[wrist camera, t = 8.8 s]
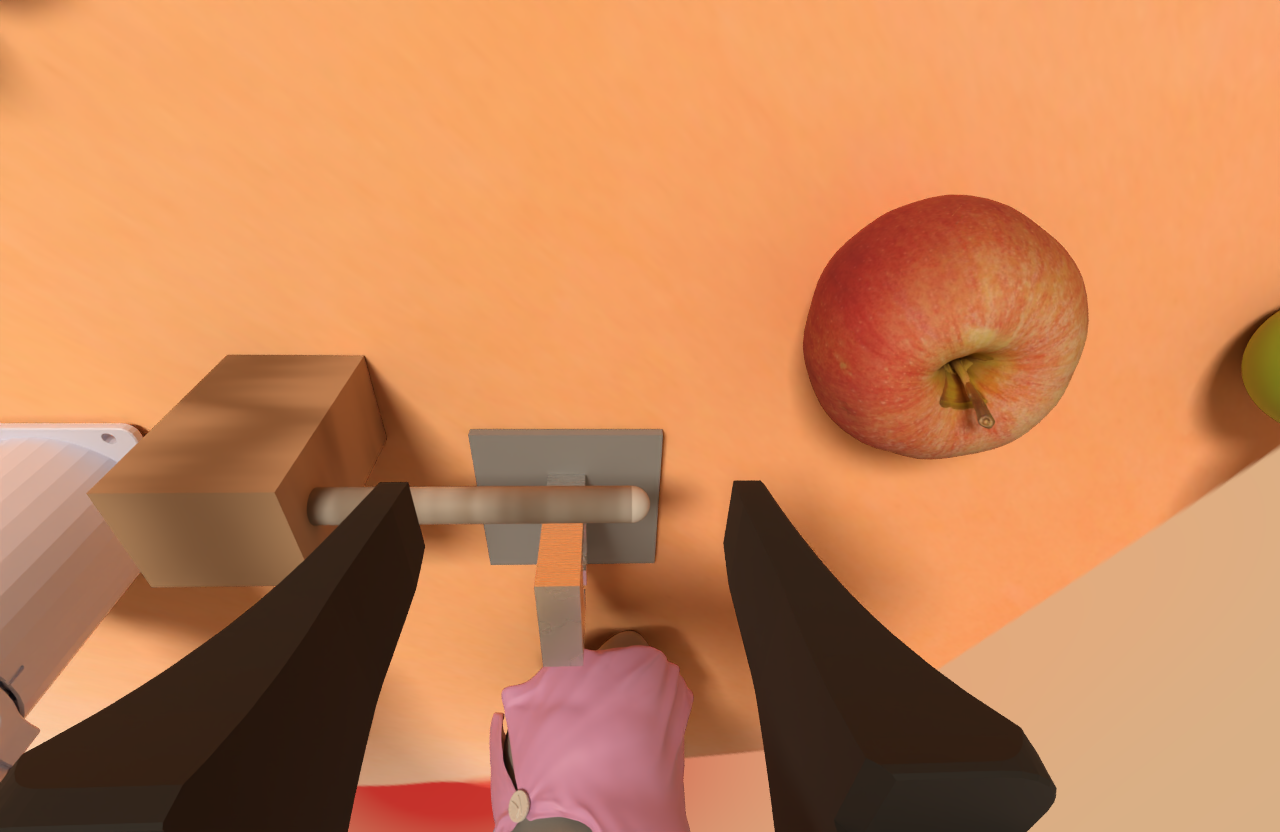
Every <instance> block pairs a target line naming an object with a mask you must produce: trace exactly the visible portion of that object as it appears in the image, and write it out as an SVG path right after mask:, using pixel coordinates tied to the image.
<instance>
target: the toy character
mask: <svg viewBox="0 0 1280 832" xmlns="http://www.w3.org/2000/svg"><path fill="white" fill-rule="evenodd" d="M679 672H680V668H679V666H678V665H676V664H674V663H671V662H669V661H667V657H666V656H665V654H664V653H663V652H662V651H660V650H658V649H656V648H653V647H650V646H649V645H648V644H647V642H646V640H645V639H644V638H643V637H642V636H641V635H640V634H638V633H637V632H634V631H624V632H621V633H618V634H616V635H615V636H613V637H611V638H610V639H609V640H607V641H606V642H605V643H604V644H603V645H602V646H601V647H600V648H599V649H598V650H589V649H584V661H583V666H560V667H543V668H542V669H541V670H540V671H539V672H538V673H537V674H536V675H535V676H534V677H533V678H531V679H530V680H529V681H527V682H525V683H523V684H519V685H514V686H509V687H506V688H504V689H503V691H502V701H503V705H504V709H505V717H506V721H507V725H508V731H507V734H506V735H505V733H504V730H503V719H504V713H494V715H493V718H492V722H491V727H490V764H491V801H492V809H493V816H494V821H495V829H494V831H493V832H690V828H689V824H688V821H687V818H686V812H685V798H684V785H683V774H684V734H685V730H686V726H687V722H688V718H689V715H690V712H691V708H692V704H693V699H694V697H693V693H692V691H691V690H690V689H689V688H688V687H687V685H686V683H685V681H684V679H683V677H682V676H681V675H680V674H679Z"/></svg>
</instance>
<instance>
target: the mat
mask: <svg viewBox="0 0 1280 832" xmlns="http://www.w3.org/2000/svg"><path fill="white" fill-rule="evenodd" d="M468 436H469V442H470V448H471V454H472V459H473V465H474V471H475V477H476V482H477V486H547V480H548V474H551V473H585V477H586V486H637V487H639V488H641V489H643V490H644V491H645V492H646V493H647V495H648V497H649V500H650V508H649V511H648V513H647V515H646V516H645V517H644V518H643V519H642V520H640V521H638V522H635V523H587V542H588V559H587V564H616V563H654V561H655V546H656V531H657V516H658V501H659V486H660V471H661V456H662V441H663V432H662V429H470V431H469V435H468ZM541 528H542V524H484V529H485V534H486V540H487V546H488V552H489V557H490V563H491V565H529V564H537V560H538V552H539V544H540V536H541Z"/></svg>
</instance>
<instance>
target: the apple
mask: <svg viewBox="0 0 1280 832" xmlns="http://www.w3.org/2000/svg"><path fill="white" fill-rule="evenodd" d="M1087 331H1088V303H1087V295H1086V290H1085V285H1084V282H1083V278H1082V276H1081V274H1080V271H1079V269H1078V267H1077V266H1076V264H1075V262H1074V261H1073V259H1072V258H1071V256H1070V255H1069V254H1068V252H1067V251H1066V249H1065V248H1064V247H1063V246H1062V245H1061V244H1060V243H1059V242H1058V241H1057V240H1056V239H1054V238H1053V237H1052V236H1051V235H1050V234H1048V233H1047V232H1046V231H1045V230H1044V229H1042V228H1041V227H1040V226H1038V225H1037V224H1036V223H1035V222H1033V221H1032V220H1031V219H1029V218H1028V217H1026V216H1025V215H1024V214H1022V213H1020V212H1019V211H1017V210H1015V209H1013V208H1012V207H1010V206H1007V205H1005V204H1002V203H999V202H996V201H993V200H990V199H986V198H981V197H975V196H968V195H944V196H938V197H932V198H927V199H924V200H921V201H917V202H914V203H911V204H908V205H905V206H902V207H900V208H897V209H894V210H892V211H890V212H888V213H886V214H884V215H882V216H880V217H879V218H877V219H876V220H874V221H873V222H872V223H870V224H869V225H867V226H866V227H865V228H863V229H862V230H861V231H859V232H858V233H857V234H856V235H854V236H853V237H852V238H851V239H850V240H849V241H847V242H846V243H845V244H844V245H843V246H842V247H841V248H840V249H839V250H838V251H837V252H836V254H835V255H834V256H833V257H832V258H831V260H830V261H829V263H828V264H827V266H826V267H825V269H824V271H823V273H822V275H821V277H820V279H819V281H818V283H817V286H816V289H815V292H814V296H813V299H812V303H811V307H810V310H809V314H808V318H807V322H806V326H805V330H804V341H803V351H804V360H805V364H806V367H807V371H808V375H809V378H810V381H811V384H812V387H813V389H814V391H815V394H816V396H817V398H818V400H819V402H820V404H821V406H822V407H823V409H824V410H825V412H826V413H827V414H828V415H829V416H830V418H831V419H832V420H833V421H834V422H835V423H836V424H837V425H838V426H839V427H841V428H842V429H843V430H844V431H845V432H847V433H848V434H850V435H851V436H853V437H854V438H856V439H857V440H859V441H861V442H862V443H865V444H867V445H870V446H872V447H874V448H878V449H882V450H886V451H890V452H893V453H896V454H900V455H903V456H907V457H912V458H917V459H942V458H950V457H957V456H962V455H968V454H974V453H979V452H983V451H987V450H991V449H995V448H998V447H1000V446H1003V445H1006V444H1008V443H1010V442H1012V441H1014V440H1016V439H1018V438H1019V437H1021V436H1022V435H1024V434H1025V433H1027V432H1028V431H1029V430H1031V429H1032V428H1033V427H1034V426H1036V425H1037V424H1038V423H1039V422H1040V421H1041V420H1042V419H1043V418H1044V417H1045V416H1046V415H1047V414H1048V413H1049V412H1050V411H1051V410H1052V409H1053V408H1054V407H1055V406H1056V405H1057V403H1058V402H1059V400H1060V399H1061V397H1062V396H1063V394H1064V392H1065V390H1066V388H1067V386H1068V384H1069V382H1070V380H1071V378H1072V375H1073V373H1074V371H1075V369H1076V366H1077V364H1078V362H1079V360H1080V357H1081V354H1082V351H1083V348H1084V345H1085V341H1086V337H1087Z"/></svg>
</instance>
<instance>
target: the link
mask: <svg viewBox="0 0 1280 832" xmlns="http://www.w3.org/2000/svg"><path fill="white" fill-rule="evenodd" d="M547 486H586V477H585V473H551V474H548V480H547ZM587 559H588V542H587V523H552V524H542V528H541V536H540V544H539V552H538V560H537V568H536V576H535V584H534V590H535V598H536V607H537V616H538V625H539V634H540V642H541V651H542V660H543V667H560V666H583V661H584V636H585V610H586V597H585V589H584V585H586V584H587Z"/></svg>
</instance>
